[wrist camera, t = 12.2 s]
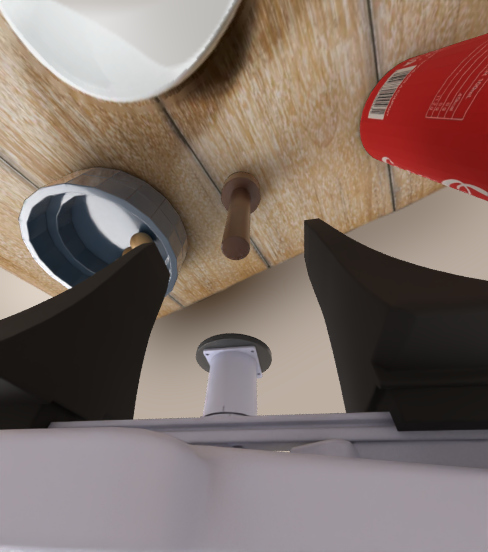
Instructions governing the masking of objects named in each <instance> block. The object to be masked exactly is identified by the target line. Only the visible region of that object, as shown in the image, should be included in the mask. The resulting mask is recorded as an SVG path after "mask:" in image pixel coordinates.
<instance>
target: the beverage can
mask: <svg viewBox="0 0 488 552" xmlns="http://www.w3.org/2000/svg"><path fill="white" fill-rule="evenodd" d="M360 136H361V141H362V144H363V146H364V148H365V149H366V151H367V152H368V153H369V154H370V155H371V156H372V157H373V158H375V159H377V160H380V161H382V162H385V163H388V164H390V165H393V166H396V167H398V168H401V169H404V170H406V171H409V172H412V173H414V174H417V175H420V176H422V177H425V178H428V179H430V180H433V181H436V182H438V183H441V184H444V185H446V186H449V187H452V188H454V189H457V190H460V191H462V192H465V193H468V194H470V195H473V196H476V197H478V198H481V199H484V200H486V201H488V33H487V34H484V35H481V36H478V37H475V38H472V39H469V40H466V41H463V42H460V43H456V44H453V45H450V46H447V47H444V48H441V49H438V50H435V51H432V52H429V53H426V54H422V55H419V56H416V57H413V58H410V59H408V60H406V61H404V62H402V63H400V64H398V65H397V66H396V67H394V68H393V69H392V70H390V71H389V72H388V73H387V74H386V75H385V76H384V77H383V78H382V79H381V80H380V81H379V82H378V84H377V85H376V86H375V88H374V89H373V90H372V92H371V94H370V96H369V97H368V99H367V101H366V104H365V106H364V109H363V112H362V116H361V121H360Z"/></svg>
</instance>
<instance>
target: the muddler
mask: <svg viewBox="0 0 488 552" xmlns="http://www.w3.org/2000/svg"><path fill="white" fill-rule="evenodd" d="M221 199H222V203H223V205H224V207H225V208H226V210H228V214H227V219H226V224H225V229H224V235H223V240H222V245H221V250H222V252H223V254H224V255H225V256H226V257H227V258H229V259H232V260H240V259H243V258H245V257H246V256H247V255H248V253H249V251H250V214H251V213H252V212H254V211H255V210H256V209H257V207H258V205H259V203H260V187H259V183H258V182H257V180H256V179H255V178H254V177H253V176H252V175H251V174H249V173H246V172H237V173H234V174H232V175H230V176H229V177H228V178H227V179H226V181H225V183H224V186H223V189H222V193H221Z"/></svg>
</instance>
